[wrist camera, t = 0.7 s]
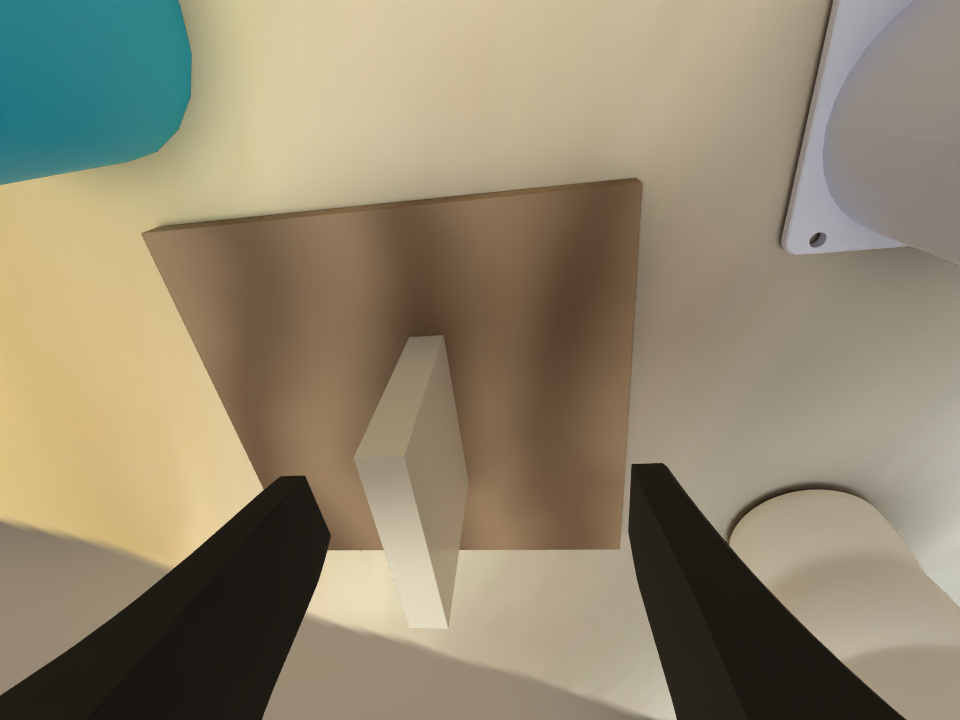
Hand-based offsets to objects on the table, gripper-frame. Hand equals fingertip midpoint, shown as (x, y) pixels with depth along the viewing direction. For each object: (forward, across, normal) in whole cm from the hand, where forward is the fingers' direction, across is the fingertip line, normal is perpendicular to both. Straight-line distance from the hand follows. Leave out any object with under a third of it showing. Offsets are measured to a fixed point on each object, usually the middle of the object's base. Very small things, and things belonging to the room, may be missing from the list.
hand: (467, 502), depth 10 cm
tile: (+9, +3, +4) cm, 10 cm away
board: (+10, +4, +4) cm, 11 cm away
